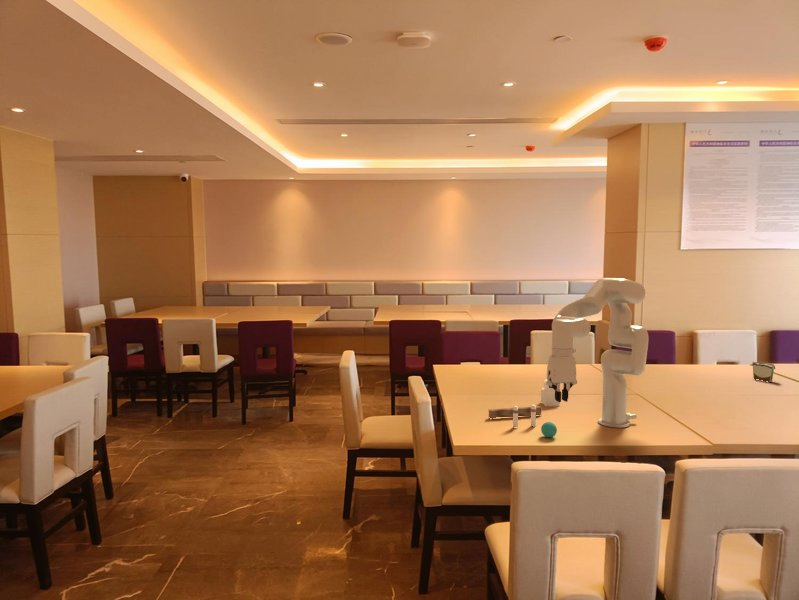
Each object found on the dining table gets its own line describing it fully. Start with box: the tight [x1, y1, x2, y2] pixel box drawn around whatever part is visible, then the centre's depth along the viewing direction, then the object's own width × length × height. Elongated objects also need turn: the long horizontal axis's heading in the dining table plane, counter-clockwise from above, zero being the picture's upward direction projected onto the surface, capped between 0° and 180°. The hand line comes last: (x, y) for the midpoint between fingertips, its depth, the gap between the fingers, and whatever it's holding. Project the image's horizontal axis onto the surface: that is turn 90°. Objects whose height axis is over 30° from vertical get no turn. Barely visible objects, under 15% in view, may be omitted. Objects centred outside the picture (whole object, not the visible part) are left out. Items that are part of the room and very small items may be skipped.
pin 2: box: [530, 404, 537, 428], centre depth 228 cm, size 2×2×9 cm
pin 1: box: [512, 405, 519, 428], centre depth 226 cm, size 2×2×9 cm
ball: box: [540, 421, 558, 438], centre depth 214 cm, size 6×6×6 cm
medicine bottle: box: [540, 378, 561, 407], centre depth 262 cm, size 7×7×12 cm
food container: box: [751, 361, 776, 383], centre depth 308 cm, size 12×6×10 cm, turn 22°
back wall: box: [488, 405, 542, 418], centre depth 242 cm, size 24×2×4 cm, turn 102°
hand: (561, 400), depth 204 cm, fingers closed
